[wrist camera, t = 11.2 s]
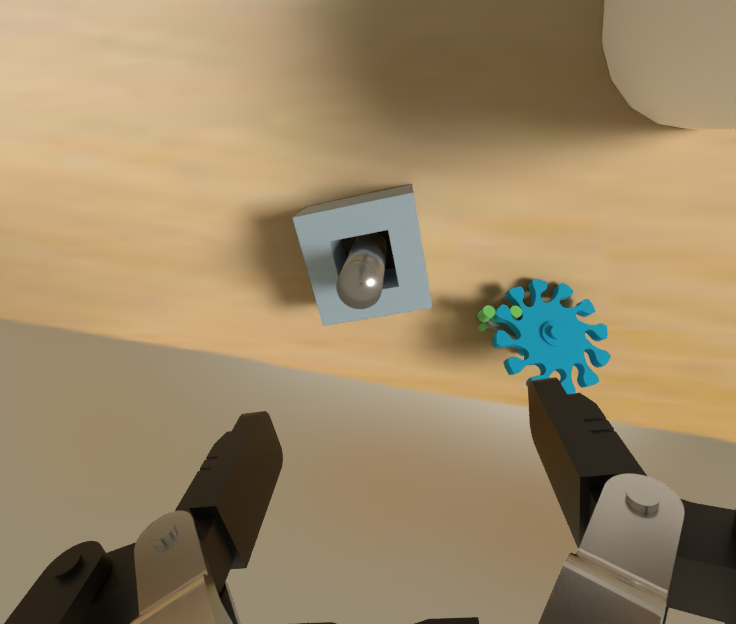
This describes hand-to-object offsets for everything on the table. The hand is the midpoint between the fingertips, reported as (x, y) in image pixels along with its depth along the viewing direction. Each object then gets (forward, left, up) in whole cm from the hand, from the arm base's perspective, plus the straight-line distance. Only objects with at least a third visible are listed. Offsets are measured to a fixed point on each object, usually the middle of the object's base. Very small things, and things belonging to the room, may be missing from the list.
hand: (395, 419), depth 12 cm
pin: (+1, -3, -25) cm, 25 cm away
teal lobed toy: (+10, +10, -25) cm, 29 cm away
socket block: (+1, -3, -25) cm, 25 cm away
